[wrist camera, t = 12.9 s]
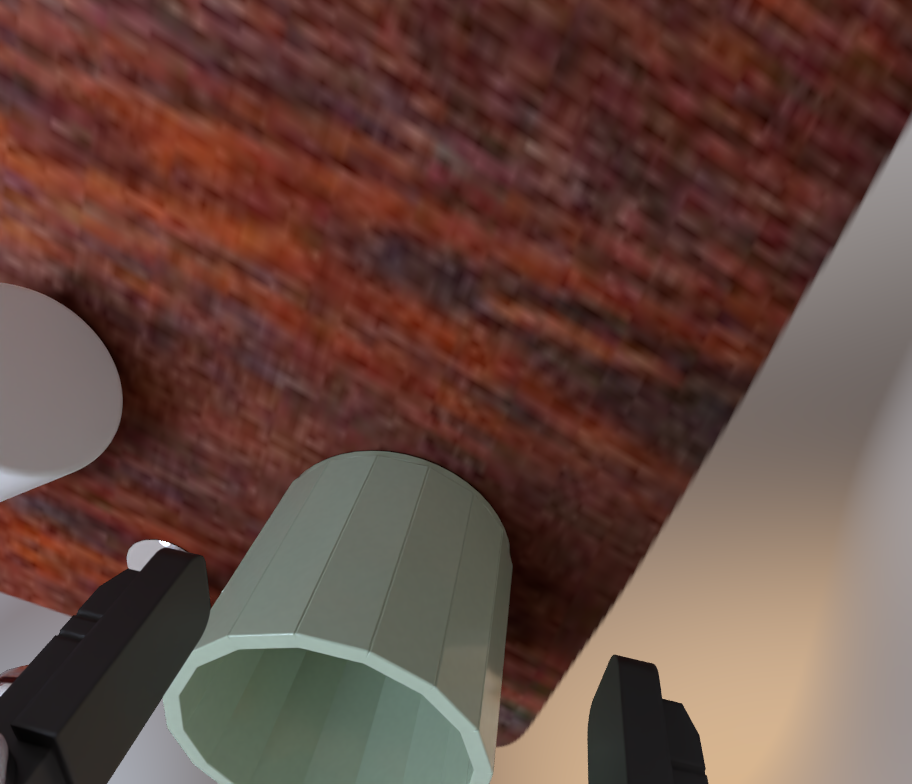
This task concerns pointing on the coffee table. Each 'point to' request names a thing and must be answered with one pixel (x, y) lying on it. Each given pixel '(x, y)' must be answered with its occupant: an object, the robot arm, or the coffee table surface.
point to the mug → (51, 391)
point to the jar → (355, 635)
